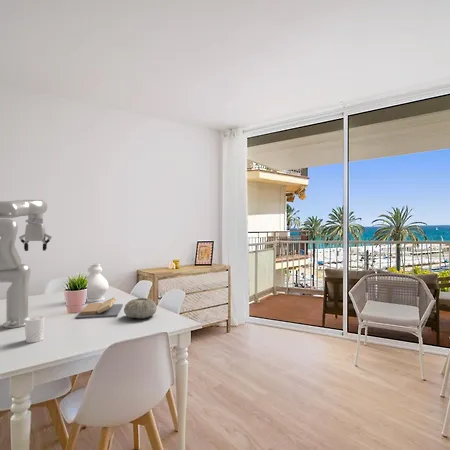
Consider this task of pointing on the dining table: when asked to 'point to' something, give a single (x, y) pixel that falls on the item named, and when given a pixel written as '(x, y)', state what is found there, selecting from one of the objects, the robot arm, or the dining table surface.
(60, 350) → the dining table surface
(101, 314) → the floor board
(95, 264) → the decorative vase
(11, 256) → the robot arm
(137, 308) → the decorative shell
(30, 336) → the white cup
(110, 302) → the board
